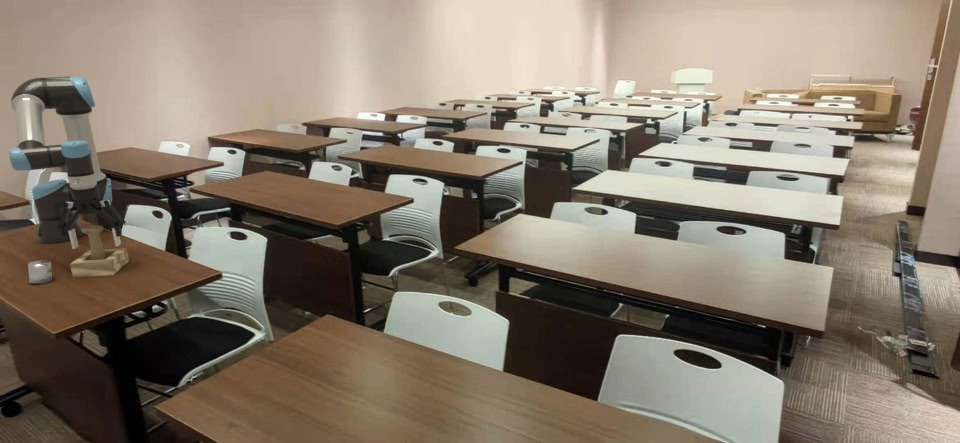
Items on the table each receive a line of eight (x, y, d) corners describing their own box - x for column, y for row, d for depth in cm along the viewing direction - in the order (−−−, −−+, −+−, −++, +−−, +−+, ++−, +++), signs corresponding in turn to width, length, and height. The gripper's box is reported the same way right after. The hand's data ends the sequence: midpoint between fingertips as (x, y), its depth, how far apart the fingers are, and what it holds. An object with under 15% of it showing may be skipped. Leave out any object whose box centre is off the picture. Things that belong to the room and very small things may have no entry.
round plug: (28, 284, 186) (27, 267, 185) (30, 278, 191) (28, 261, 189) (51, 282, 189) (50, 265, 188) (52, 276, 194) (51, 259, 193)
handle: (105, 270, 197) (96, 229, 193) (87, 270, 198) (78, 229, 193) (114, 265, 202) (105, 225, 198) (97, 265, 202) (88, 225, 198)
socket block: (91, 263, 205) (88, 250, 204) (129, 261, 208) (126, 248, 206) (73, 277, 193) (69, 264, 191) (113, 275, 195) (110, 261, 193)
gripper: (36, 191, 186) (51, 252, 192) (119, 187, 190) (131, 247, 196) (48, 186, 193) (63, 245, 199) (128, 182, 197) (140, 240, 203)
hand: (97, 246), depth 198 cm, fingers open, 13 cm apart
